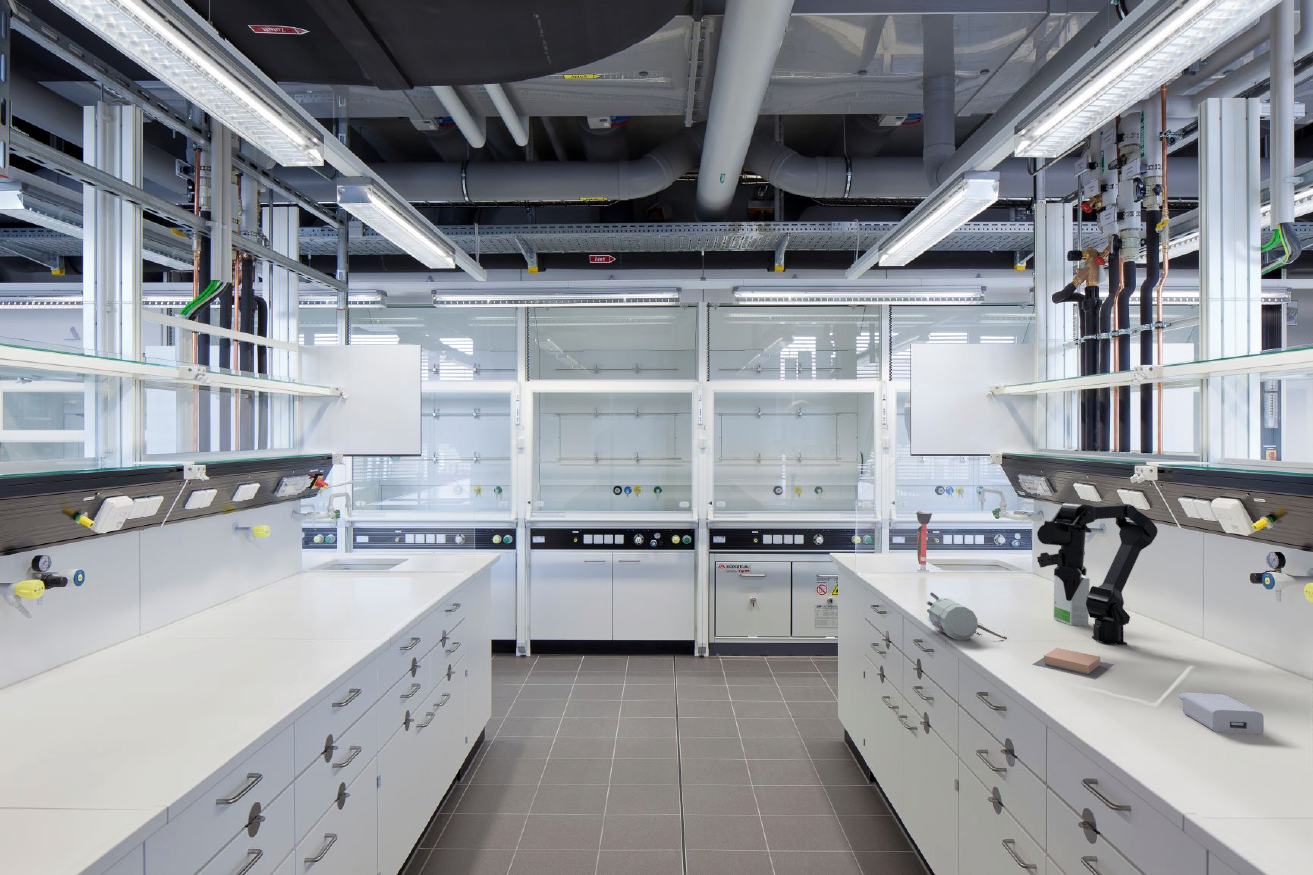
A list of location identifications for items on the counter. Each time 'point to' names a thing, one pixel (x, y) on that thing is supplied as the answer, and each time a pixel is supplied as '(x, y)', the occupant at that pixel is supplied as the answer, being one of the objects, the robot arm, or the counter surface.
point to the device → (952, 618)
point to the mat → (1092, 674)
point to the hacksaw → (990, 632)
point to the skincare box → (1071, 603)
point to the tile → (1072, 660)
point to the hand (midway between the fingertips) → (1068, 600)
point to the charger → (1222, 713)
